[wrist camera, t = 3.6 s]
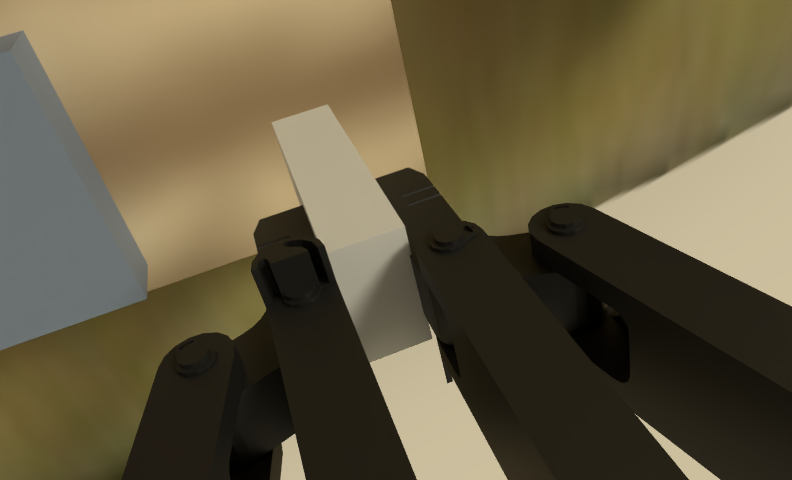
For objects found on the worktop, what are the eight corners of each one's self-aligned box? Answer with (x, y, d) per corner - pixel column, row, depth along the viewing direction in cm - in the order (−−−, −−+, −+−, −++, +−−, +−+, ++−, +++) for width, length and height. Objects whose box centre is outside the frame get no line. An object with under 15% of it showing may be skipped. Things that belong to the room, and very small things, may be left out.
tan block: (-324, 63, 19) (-424, 111, 16) (335, -119, 22) (367, -110, 19) (-106, 319, 25) (-145, 393, 21) (397, 150, 27) (430, 193, 24)
